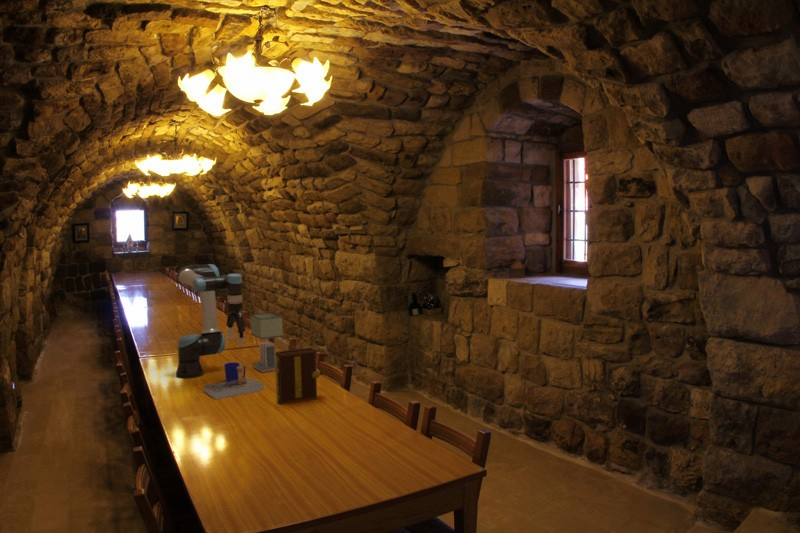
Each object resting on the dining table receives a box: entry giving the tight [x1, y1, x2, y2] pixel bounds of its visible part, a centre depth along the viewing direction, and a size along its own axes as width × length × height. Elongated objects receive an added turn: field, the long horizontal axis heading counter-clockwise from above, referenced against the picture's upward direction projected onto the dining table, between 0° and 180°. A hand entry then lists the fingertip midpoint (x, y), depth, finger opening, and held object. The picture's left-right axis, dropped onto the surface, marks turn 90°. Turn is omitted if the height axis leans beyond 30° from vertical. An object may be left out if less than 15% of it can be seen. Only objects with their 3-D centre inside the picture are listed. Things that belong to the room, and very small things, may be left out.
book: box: [275, 347, 321, 405], centre depth 296 cm, size 22×8×25 cm, turn 117°
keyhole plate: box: [203, 376, 265, 400], centre depth 315 cm, size 26×17×3 cm, turn 128°
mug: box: [224, 361, 247, 382], centre depth 333 cm, size 8×12×10 cm
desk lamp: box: [249, 312, 284, 373], centre depth 361 cm, size 18×14×33 cm
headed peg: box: [237, 365, 244, 385], centre depth 317 cm, size 5×5×12 cm
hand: (236, 341), depth 321 cm, fingers open, 13 cm apart
